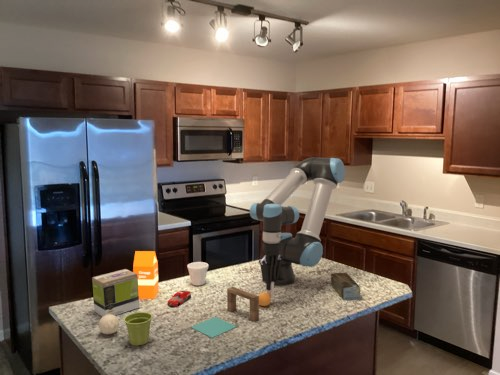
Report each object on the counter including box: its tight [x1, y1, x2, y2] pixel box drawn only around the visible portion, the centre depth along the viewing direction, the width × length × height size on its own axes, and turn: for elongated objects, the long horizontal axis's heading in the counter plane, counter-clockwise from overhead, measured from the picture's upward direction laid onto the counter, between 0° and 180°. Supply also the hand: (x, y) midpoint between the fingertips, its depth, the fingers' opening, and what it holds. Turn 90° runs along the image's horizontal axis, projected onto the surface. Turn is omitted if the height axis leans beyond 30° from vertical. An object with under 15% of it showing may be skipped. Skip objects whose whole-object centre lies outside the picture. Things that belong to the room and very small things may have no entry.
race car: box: [167, 290, 192, 308], centre depth 179 cm, size 13×5×4 cm, turn 155°
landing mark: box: [190, 316, 238, 339], centre depth 155 cm, size 12×12×1 cm
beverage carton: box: [330, 272, 361, 301], centre depth 190 cm, size 8×19×7 cm, turn 5°
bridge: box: [226, 286, 260, 322], centre depth 166 cm, size 3×14×9 cm, turn 46°
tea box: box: [91, 268, 140, 318], centre depth 170 cm, size 15×10×15 cm, turn 134°
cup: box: [186, 261, 209, 287], centre depth 200 cm, size 10×10×9 cm
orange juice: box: [132, 250, 160, 300], centre depth 185 cm, size 8×9×20 cm
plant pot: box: [123, 311, 153, 347], centre depth 144 cm, size 9×9×9 cm
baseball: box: [98, 314, 120, 335], centre depth 150 cm, size 7×7×7 cm
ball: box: [258, 291, 272, 307], centre depth 175 cm, size 6×6×6 cm
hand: (270, 296), depth 177 cm, fingers closed
